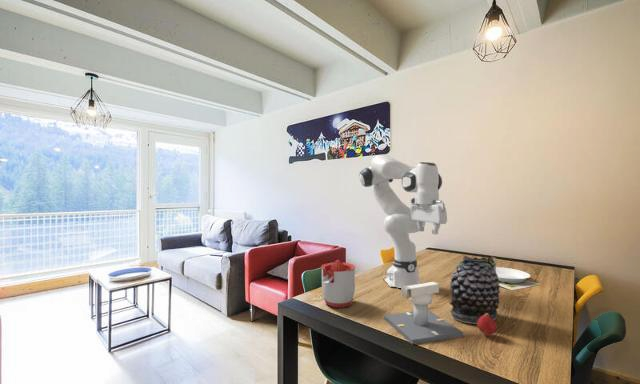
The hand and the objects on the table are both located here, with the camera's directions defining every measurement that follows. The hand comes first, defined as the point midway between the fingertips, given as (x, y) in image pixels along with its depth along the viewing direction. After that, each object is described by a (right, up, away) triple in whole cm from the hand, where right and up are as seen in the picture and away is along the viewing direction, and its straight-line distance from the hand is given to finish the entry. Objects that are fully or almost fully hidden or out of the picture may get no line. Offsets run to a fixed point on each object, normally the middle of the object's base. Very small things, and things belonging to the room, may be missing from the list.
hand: (428, 232), depth 122 cm
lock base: (-8, -33, -15) cm, 37 cm away
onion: (+12, -33, -22) cm, 41 cm away
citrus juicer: (-38, -34, +9) cm, 52 cm away
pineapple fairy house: (+16, -33, -8) cm, 37 cm away
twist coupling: (-8, -23, -15) cm, 29 cm away
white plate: (+60, -33, +44) cm, 82 cm away
